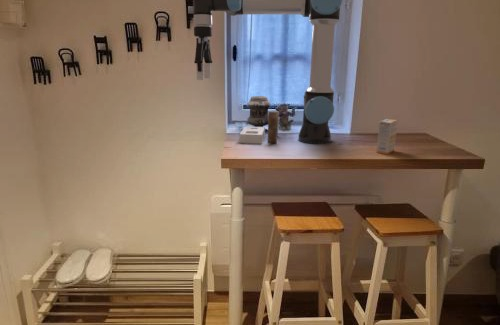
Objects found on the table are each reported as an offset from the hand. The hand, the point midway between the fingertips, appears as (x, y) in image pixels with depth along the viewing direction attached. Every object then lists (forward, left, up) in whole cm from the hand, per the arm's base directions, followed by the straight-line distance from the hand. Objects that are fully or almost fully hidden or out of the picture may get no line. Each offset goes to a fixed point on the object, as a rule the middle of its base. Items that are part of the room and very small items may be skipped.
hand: (204, 79), depth 158 cm
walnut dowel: (-30, -5, -28) cm, 41 cm away
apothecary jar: (-21, -32, -28) cm, 48 cm away
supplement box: (-77, +5, -28) cm, 82 cm away
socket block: (-20, -12, -28) cm, 36 cm away
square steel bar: (-30, -19, -28) cm, 45 cm away
